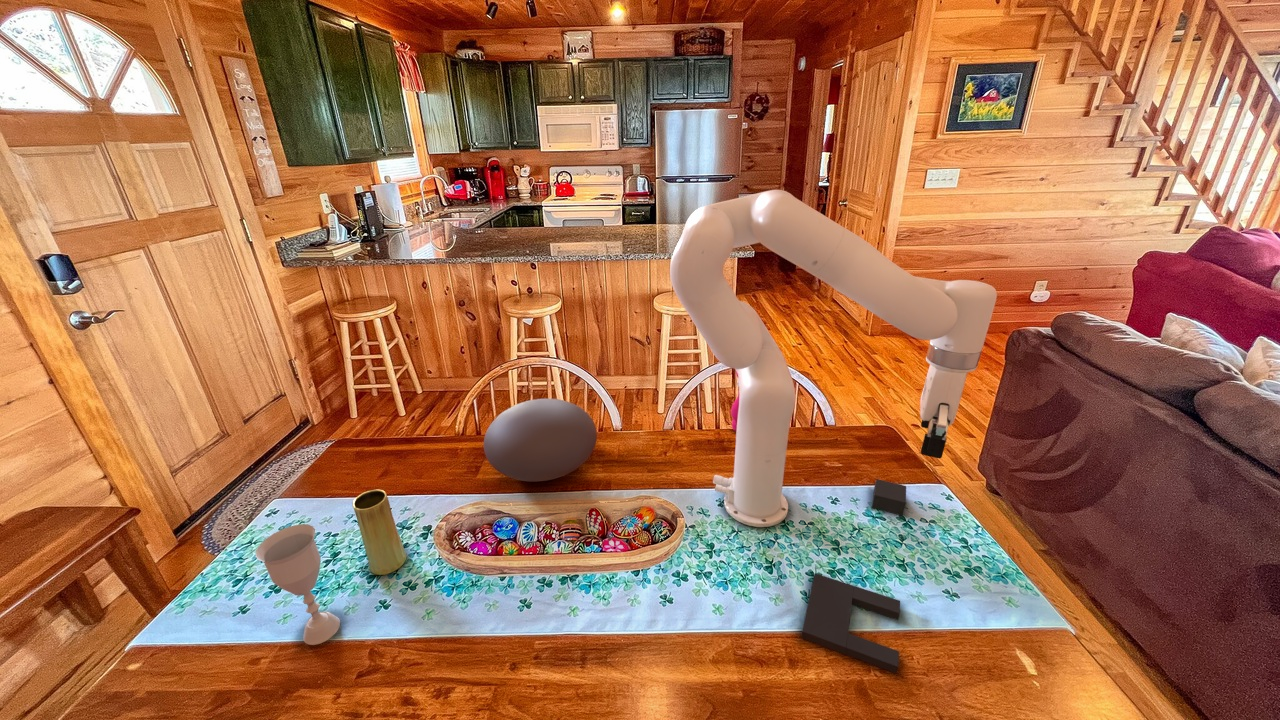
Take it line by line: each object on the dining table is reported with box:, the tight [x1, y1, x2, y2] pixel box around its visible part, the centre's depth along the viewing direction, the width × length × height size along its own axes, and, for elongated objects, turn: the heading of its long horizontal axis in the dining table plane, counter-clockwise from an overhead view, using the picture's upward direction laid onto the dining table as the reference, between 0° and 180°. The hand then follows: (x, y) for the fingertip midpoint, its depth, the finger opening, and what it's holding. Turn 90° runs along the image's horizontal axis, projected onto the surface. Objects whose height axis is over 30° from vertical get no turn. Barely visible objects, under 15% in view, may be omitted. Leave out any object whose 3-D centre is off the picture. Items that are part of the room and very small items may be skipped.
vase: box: [352, 489, 408, 576], centre depth 88 cm, size 6×6×14 cm
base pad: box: [800, 572, 901, 675], centre depth 78 cm, size 13×12×2 cm
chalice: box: [254, 523, 341, 646], centre depth 75 cm, size 7×7×18 cm
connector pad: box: [871, 478, 907, 516], centre depth 102 cm, size 6×6×3 cm
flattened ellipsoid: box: [483, 398, 598, 483], centre depth 114 cm, size 25×25×15 cm
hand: (930, 441), depth 92 cm, fingers open, 9 cm apart
